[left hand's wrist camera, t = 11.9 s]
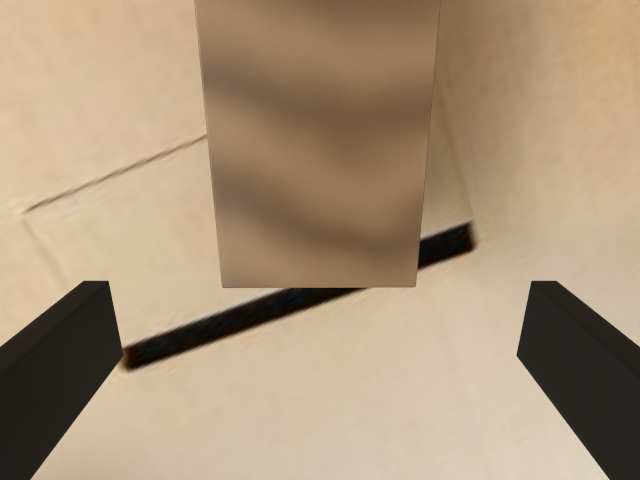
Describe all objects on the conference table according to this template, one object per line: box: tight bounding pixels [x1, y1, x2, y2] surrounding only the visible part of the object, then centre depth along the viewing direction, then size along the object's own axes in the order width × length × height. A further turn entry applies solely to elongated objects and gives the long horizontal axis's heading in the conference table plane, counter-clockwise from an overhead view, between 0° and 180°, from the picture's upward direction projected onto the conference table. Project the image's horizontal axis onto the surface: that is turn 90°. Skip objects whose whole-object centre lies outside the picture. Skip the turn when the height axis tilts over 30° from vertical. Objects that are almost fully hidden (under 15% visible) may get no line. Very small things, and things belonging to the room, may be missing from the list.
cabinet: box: [194, 0, 441, 288], centre depth 23 cm, size 19×10×11 cm, turn 0°
